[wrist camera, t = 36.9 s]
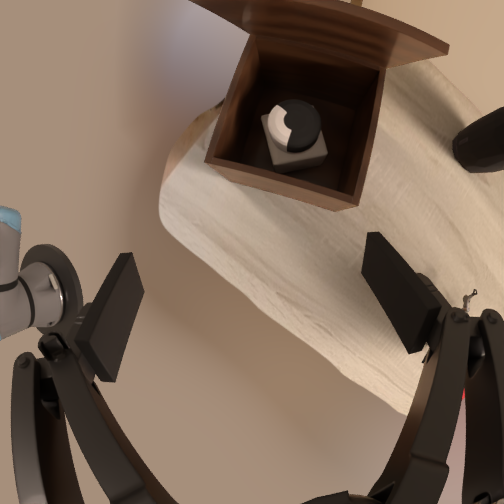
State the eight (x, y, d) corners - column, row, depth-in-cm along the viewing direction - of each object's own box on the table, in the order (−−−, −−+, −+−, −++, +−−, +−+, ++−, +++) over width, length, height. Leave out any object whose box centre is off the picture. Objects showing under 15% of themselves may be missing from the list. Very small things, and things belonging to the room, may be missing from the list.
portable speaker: (487, 146, 36) (554, 122, 17) (477, 186, 38) (551, 175, 18) (455, 119, 37) (519, 81, 17) (444, 160, 38) (516, 133, 19)
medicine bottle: (309, 122, 40) (316, 87, 28) (322, 165, 40) (334, 143, 28) (264, 131, 41) (255, 100, 29) (275, 175, 41) (271, 156, 29)
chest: (335, 211, 41) (358, 206, 27) (230, 181, 43) (203, 162, 29) (360, 109, 39) (386, 68, 25) (261, 83, 41) (250, 33, 27)
